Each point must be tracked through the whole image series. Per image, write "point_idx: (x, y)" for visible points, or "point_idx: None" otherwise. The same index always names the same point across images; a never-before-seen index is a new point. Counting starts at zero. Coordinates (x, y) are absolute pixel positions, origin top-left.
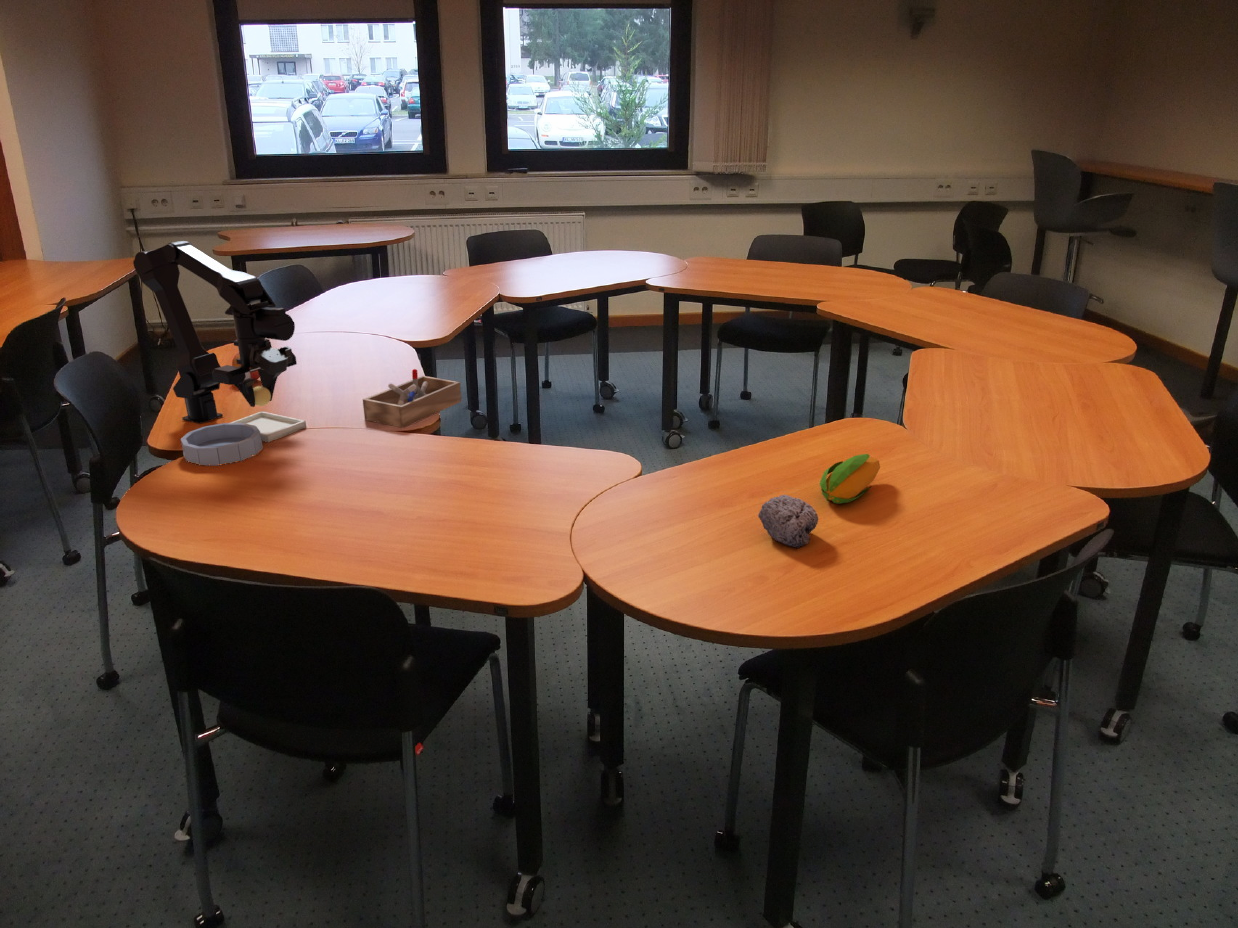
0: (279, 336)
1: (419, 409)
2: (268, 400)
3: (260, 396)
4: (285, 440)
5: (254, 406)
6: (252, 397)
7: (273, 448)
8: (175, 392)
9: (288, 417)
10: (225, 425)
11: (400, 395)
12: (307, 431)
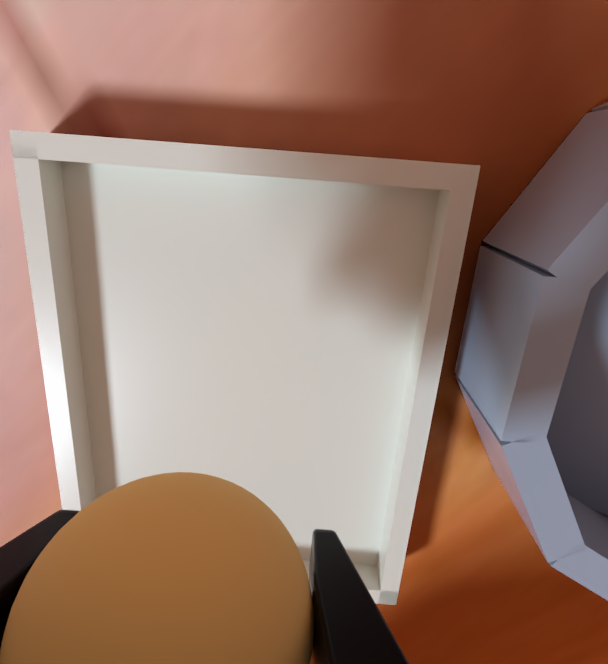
0: None
1: None
2: (159, 478)
3: (257, 578)
4: (367, 63)
5: (323, 529)
6: (366, 636)
7: (571, 9)
8: None
9: (45, 336)
10: (576, 530)
11: None
12: (109, 45)
